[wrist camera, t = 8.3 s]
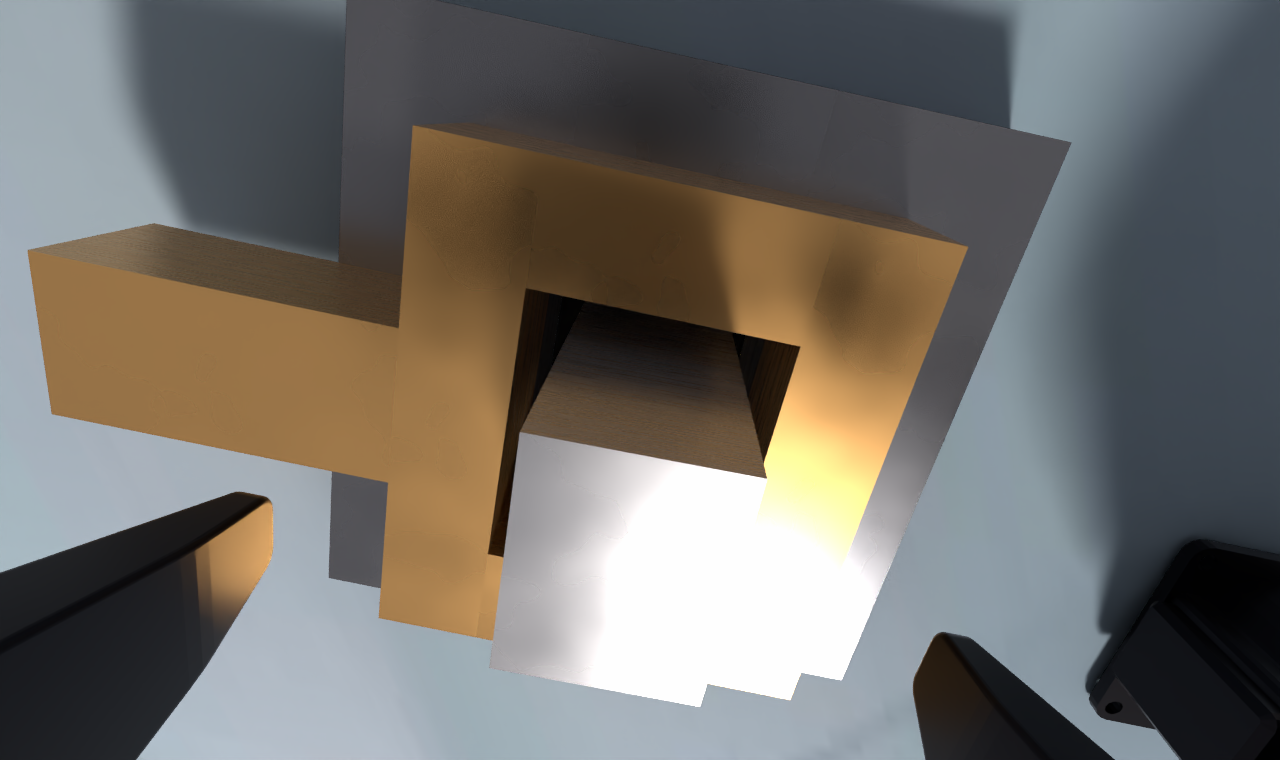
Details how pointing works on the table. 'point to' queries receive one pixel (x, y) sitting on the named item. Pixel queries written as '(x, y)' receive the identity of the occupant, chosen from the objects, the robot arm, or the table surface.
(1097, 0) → the table surface
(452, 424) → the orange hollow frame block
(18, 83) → the table surface
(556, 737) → the table surface
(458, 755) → the table surface
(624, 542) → the grey rectangular block
